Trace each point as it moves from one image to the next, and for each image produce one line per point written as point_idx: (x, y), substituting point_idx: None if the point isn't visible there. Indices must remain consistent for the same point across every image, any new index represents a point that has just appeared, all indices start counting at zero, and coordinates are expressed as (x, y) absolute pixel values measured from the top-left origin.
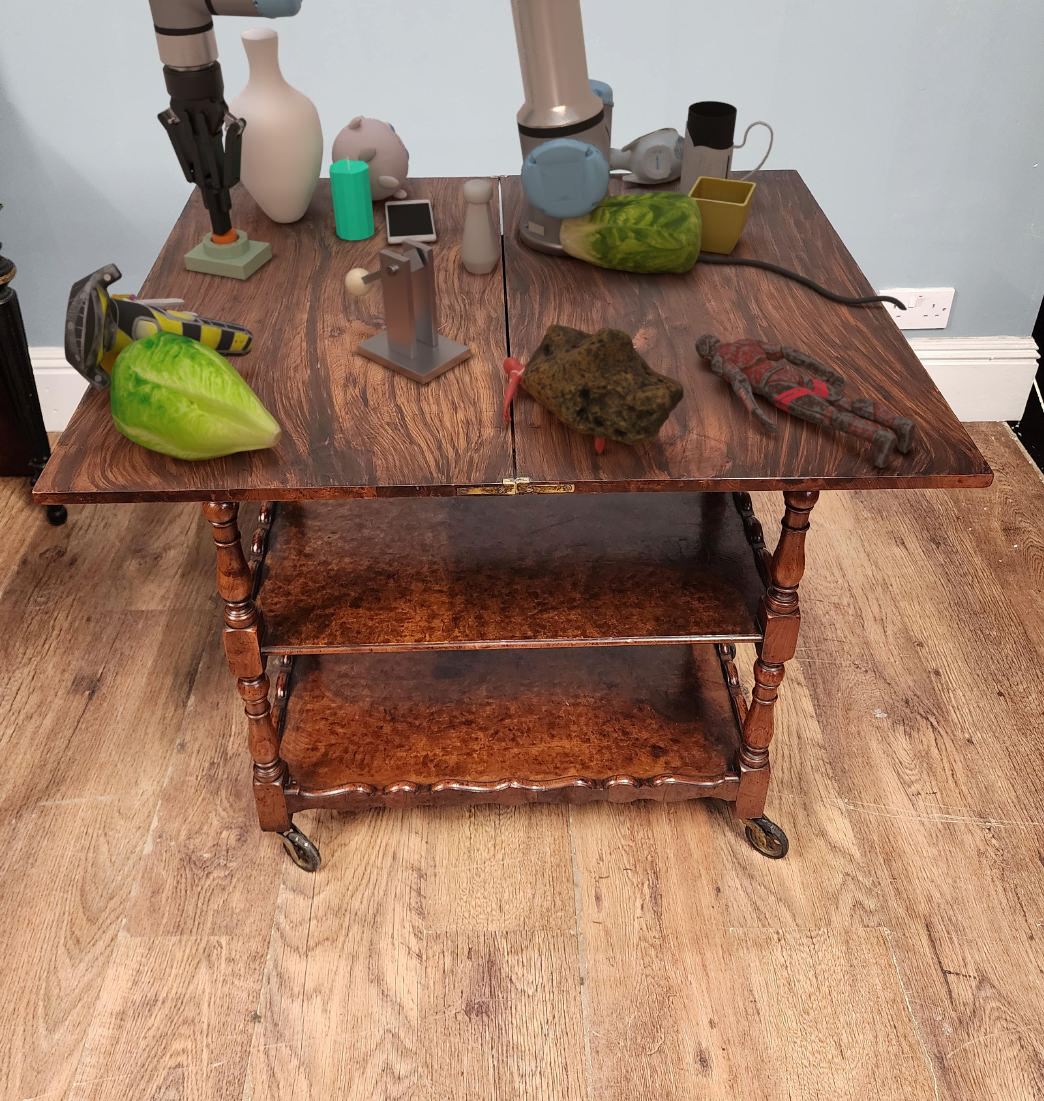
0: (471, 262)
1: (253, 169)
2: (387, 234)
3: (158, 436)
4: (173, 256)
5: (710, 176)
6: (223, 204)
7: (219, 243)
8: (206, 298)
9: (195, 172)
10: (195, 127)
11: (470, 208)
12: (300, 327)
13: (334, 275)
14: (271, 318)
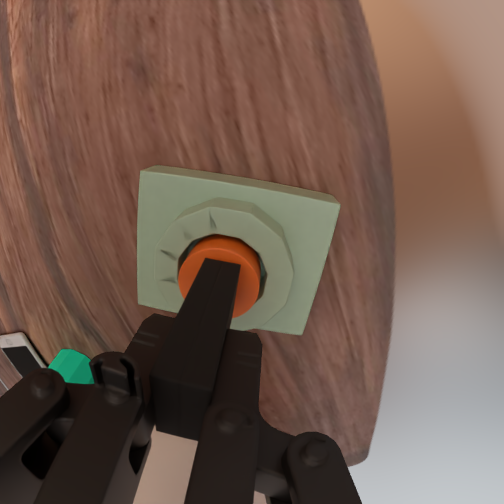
0: None
1: (174, 489)
2: (36, 355)
3: None
4: (384, 260)
5: None
6: (149, 337)
7: (221, 240)
8: (213, 53)
9: (251, 496)
10: None
11: None
12: (15, 40)
13: (24, 229)
14: (55, 37)
